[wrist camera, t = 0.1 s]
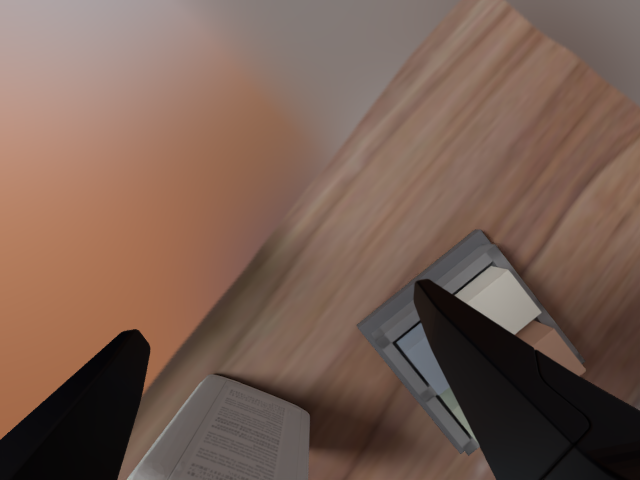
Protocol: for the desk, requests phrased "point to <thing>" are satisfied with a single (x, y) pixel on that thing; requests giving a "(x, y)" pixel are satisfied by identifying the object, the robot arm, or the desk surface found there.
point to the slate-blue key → (423, 358)
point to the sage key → (456, 409)
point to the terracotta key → (550, 345)
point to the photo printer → (230, 437)
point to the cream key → (500, 299)
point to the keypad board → (403, 317)
